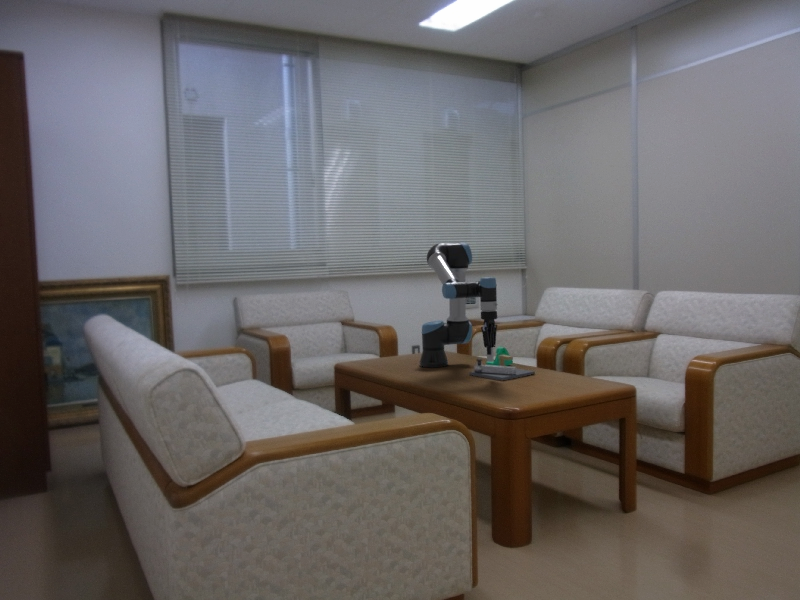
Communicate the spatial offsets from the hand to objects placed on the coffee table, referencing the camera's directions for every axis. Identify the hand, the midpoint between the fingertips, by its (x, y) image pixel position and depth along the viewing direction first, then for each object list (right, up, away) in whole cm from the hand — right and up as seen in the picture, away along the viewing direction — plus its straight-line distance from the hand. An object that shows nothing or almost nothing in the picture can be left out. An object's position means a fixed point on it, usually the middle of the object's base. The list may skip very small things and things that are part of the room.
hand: (490, 361), depth 306 cm
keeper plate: (+7, -7, +10) cm, 14 cm away
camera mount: (+9, -6, +35) cm, 37 cm away
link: (+3, -6, +7) cm, 10 cm away
